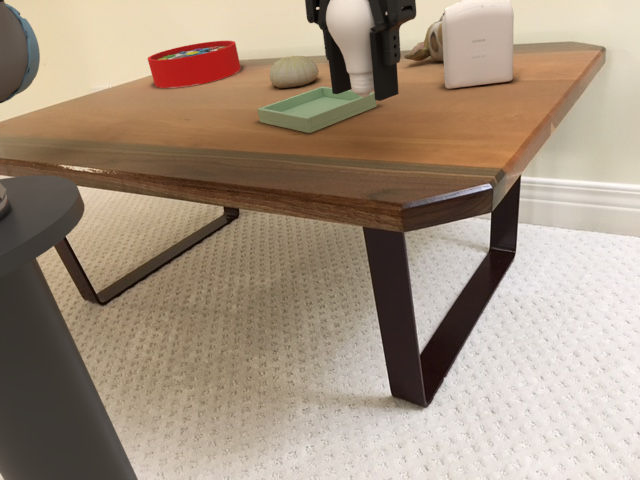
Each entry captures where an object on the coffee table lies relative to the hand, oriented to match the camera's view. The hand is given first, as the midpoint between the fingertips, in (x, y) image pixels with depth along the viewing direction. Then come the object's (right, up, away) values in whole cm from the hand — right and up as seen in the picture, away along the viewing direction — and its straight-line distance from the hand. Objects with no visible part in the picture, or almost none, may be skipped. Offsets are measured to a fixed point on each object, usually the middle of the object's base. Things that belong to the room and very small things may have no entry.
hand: (364, 93), depth 57 cm
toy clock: (-33, +22, +68) cm, 79 cm away
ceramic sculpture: (+19, +18, +45) cm, 52 cm away
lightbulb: (0, -1, 0) cm, 1 cm away
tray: (-5, +3, +24) cm, 25 cm away
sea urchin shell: (-9, +14, +46) cm, 49 cm away
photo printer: (+20, +9, +27) cm, 34 cm away
